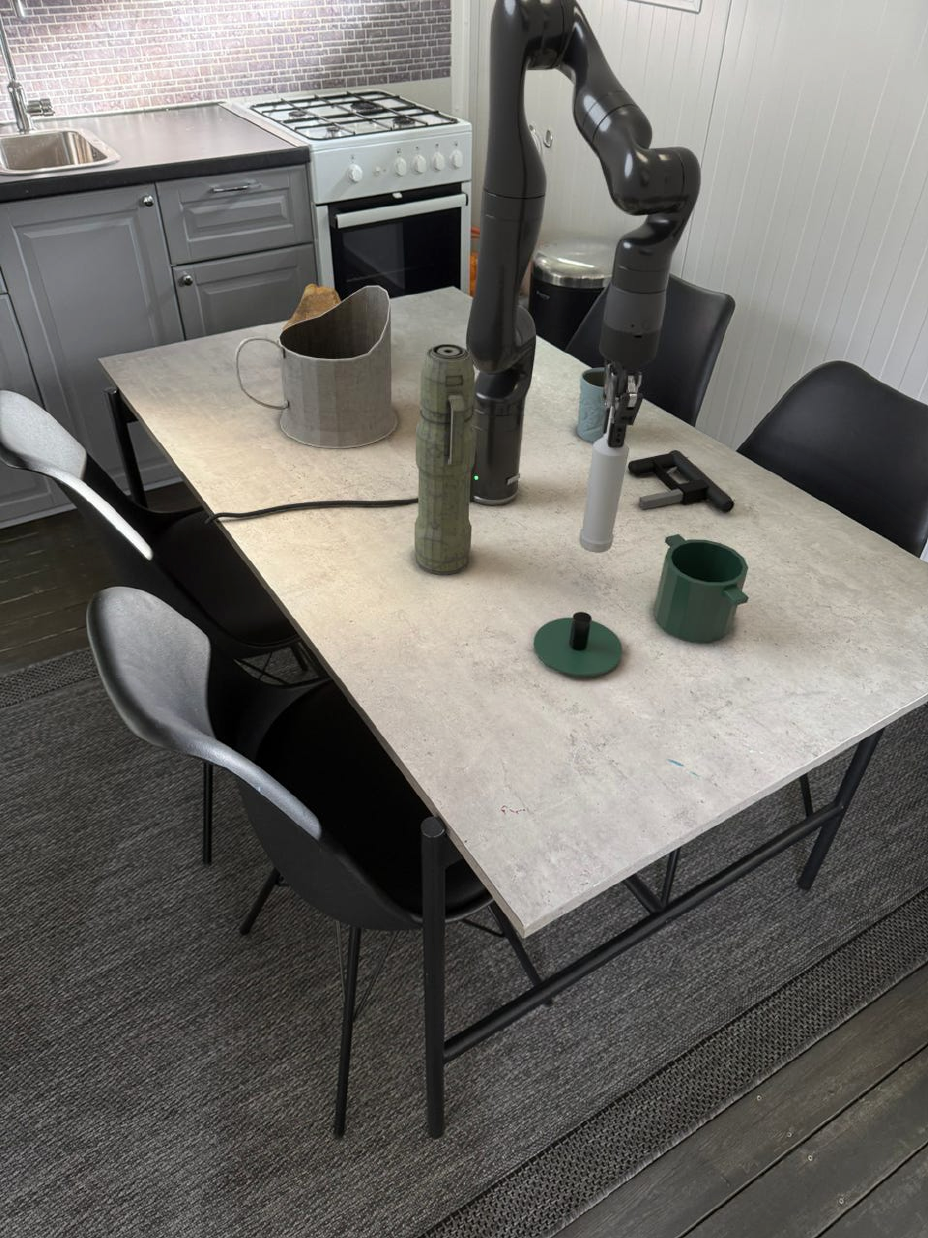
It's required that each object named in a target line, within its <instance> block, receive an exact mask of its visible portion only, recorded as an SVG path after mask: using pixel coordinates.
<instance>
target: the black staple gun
mask: <svg viewBox="0 0 928 1238" xmlns="http://www.w3.org/2000/svg"><path fill="white" fill-rule="evenodd" d="M689 458H690V456H686V455H684V454H683V452H681V451H680V450H677V449H673V450H670V451H669V452H668V453H664V454H658V455H653V456H648V457H644V458H638V459H634V460H633V459H632V460H630V461H629V462H628V464H627V469H628V472H630V474H632V475H634V476H641V475H647V474H650V473H652V474H653V475H654V476H655V477H656V478H657V479H659V481H660V482H662V484H663V485H664V486H666V487H667V488H668V489H669V490H667V491H666V490H665V491H662V492H658V493H653V494H648V495H644V496H639V500H638V506H639V508H641V509H642V511H644V510H648V509H653V508H658V507H662V506H667V505H672V504H676V503H680V504H682V505H683V506H686V505H690V504H695V503H699V502H705V501H708V502H709V503H710V504H712V506H713V507H714V508H716V510H718V511H720V512H722V513H723V514H727V513H730V512H731V511H732V510H733V509H734V507H735V502H736V500H735V499H734V500H733V498H732V497H731V496H730V495H729V494H728V493H726V492H725V491H724V490H723V489H722V488H721V487H720V486H719V485H718V484H716V483H715V482H714V481H713V480H712V479H711V478H710V477H709V476H707V475H706V473H705V472H703V471H702V470H701V469H700V468H699V467H698V466H697V465H696V464H694V463H693V462H692V461H691V460H690V459H689ZM667 470H668V471H667ZM675 471H676V472H677V473H678V474H679V475H680V476H681V477H683V478H684V479H685V480H686V482H682V483H678V481H676V480H675V479H674V478H673V477H672V476H671V475H672V474H673V473H674V472H675Z"/></svg>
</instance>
